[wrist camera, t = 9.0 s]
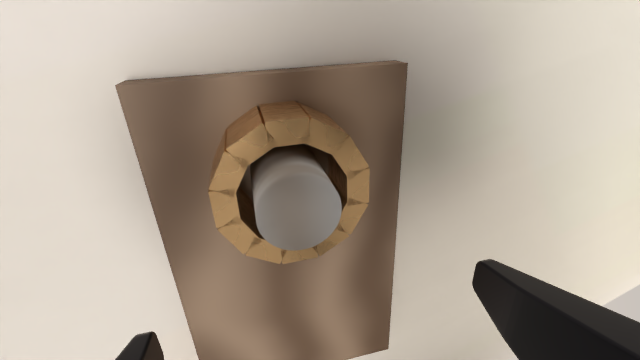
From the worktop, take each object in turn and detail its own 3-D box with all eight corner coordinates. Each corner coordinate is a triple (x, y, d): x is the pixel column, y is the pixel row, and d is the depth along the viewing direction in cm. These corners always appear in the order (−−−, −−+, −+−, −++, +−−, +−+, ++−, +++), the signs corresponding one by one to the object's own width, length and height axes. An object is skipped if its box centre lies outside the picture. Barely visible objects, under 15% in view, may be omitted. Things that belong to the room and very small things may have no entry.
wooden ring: (345, 95, 17) (370, 110, 14) (347, 213, 20) (368, 247, 17) (202, 109, 16) (194, 129, 13) (227, 234, 19) (226, 275, 16)
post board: (395, 60, 18) (468, 75, 13) (380, 333, 28) (419, 412, 22) (125, 80, 16) (63, 110, 10) (210, 375, 25) (204, 477, 19)
